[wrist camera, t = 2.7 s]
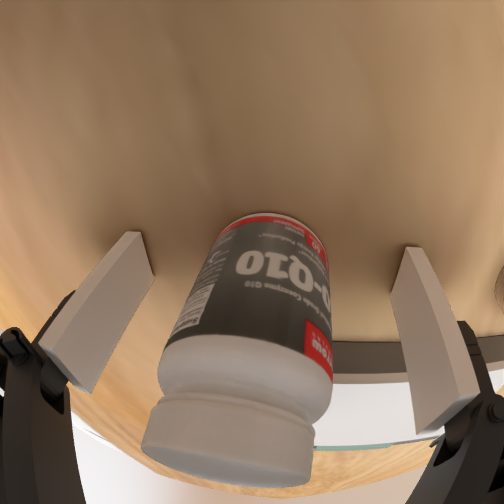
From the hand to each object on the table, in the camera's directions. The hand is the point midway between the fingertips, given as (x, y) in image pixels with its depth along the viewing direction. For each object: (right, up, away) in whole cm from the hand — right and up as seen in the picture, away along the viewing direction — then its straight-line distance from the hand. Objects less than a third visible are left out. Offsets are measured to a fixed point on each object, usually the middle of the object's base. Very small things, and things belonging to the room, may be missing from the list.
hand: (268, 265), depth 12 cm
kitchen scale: (+8, -10, +6) cm, 14 cm away
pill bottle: (0, 0, 0) cm, 0 cm away
